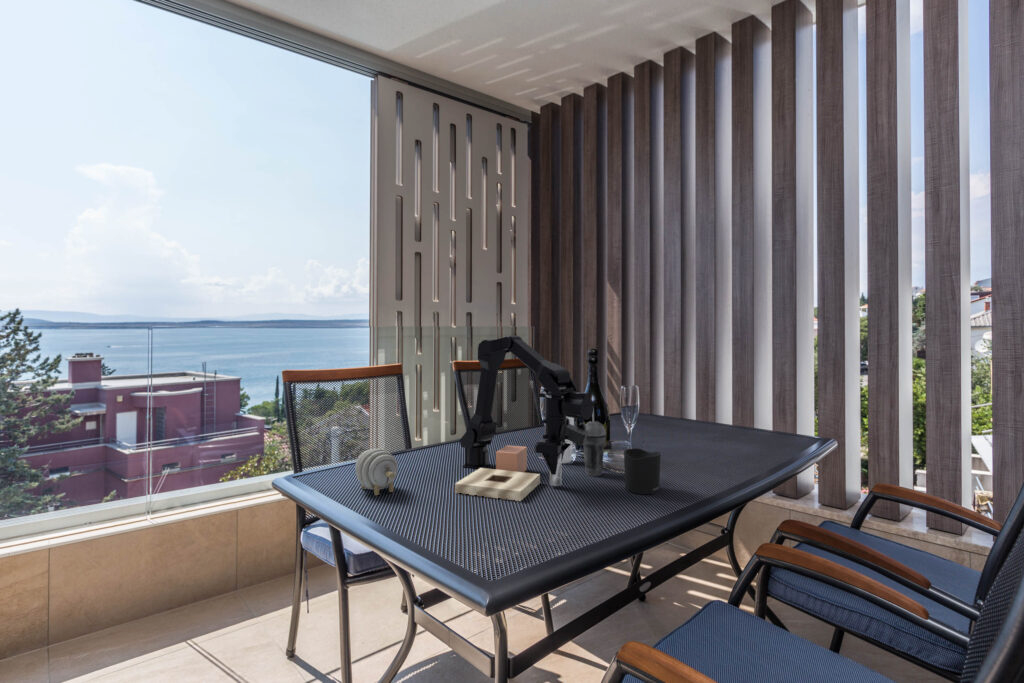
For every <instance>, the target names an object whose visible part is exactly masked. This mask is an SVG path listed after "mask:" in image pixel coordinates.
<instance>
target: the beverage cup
mask: <svg viewBox="0 0 1024 683" xmlns="http://www.w3.org/2000/svg"><path fill="white" fill-rule="evenodd" d="M591 419H592V420H590V421H588V422H586V424H585V425H586V430H587V431H588V436H587V438H586V440H585V443H584V444H583V445H582V446H583V456H584V457H583V458H584V469H585V475H587V476H591V477H599V476H602V471H603V464H604V452H605V443H606V439H607V436H608V435H607V432H606V431H607V430H606V428H605V427H604V426H605V425H604V424H602V423H601V422H599V421H597V420H595V408H594V409H593V413H592V416H591Z"/></svg>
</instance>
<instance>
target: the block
mask: <svg viewBox="0 0 1024 683" xmlns="http://www.w3.org/2000/svg"><path fill="white" fill-rule="evenodd" d="M527 453H528V447H527V446H521V445H510V444H509V445H508V444H507V445H505V446H503V447H502V448H500V449H498V450H496V452H495V469H497V470H506V471H516V472H525V473H526V471H528V454H527Z"/></svg>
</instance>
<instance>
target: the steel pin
mask: <svg viewBox="0 0 1024 683" xmlns="http://www.w3.org/2000/svg"><path fill="white" fill-rule="evenodd" d="M562 464H563V463H562V453H561V454H560V455H559V458H558V465H557V471H556V474H555V475H552V474H551V472H550V471H549V485H550V486H553V487H554V486H555V487H558V486H559V487H560V486H562V484H563V482H562V477H563V476H562V475H563V474H562V472H563V471H562V470H563V469H562V466H563V465H562Z"/></svg>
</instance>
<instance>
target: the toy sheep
mask: <svg viewBox="0 0 1024 683" xmlns="http://www.w3.org/2000/svg"><path fill="white" fill-rule="evenodd" d="M354 466H355V469H354V470H355V474H356V478H357V480H358V481H359V483H360V484H361V485H360V487H361V488H362V489H361V490H365V489H364V488H366V489H368V490H370V491H371V490H373V493H374V496H375V495H380V491H381V490H383V489H385V488H387V487H388V493H390V492H392V493H393V492H394V481H395V479H396V477H397V475H398V471H399V466H398V461H397V460H396V457H395V456H394V455H393V454H392V453H391V452H389V451H388V450H386V449H383V448H371V449H367V450H365V451H363V452H362V453H361V454H359V456H358V457H357V460H356V462H355V465H354Z"/></svg>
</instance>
